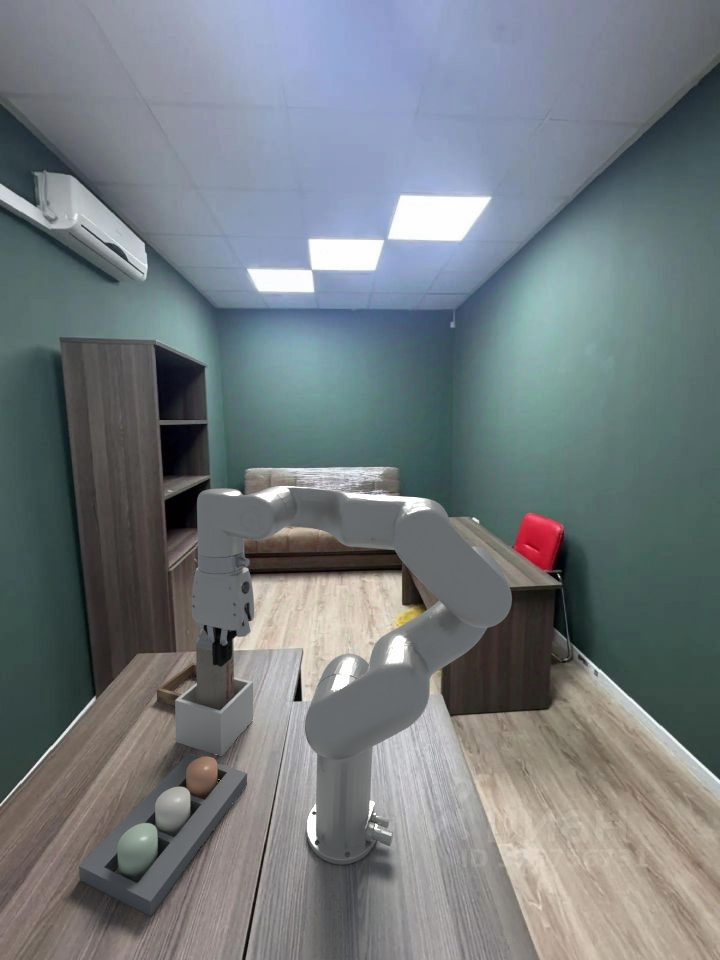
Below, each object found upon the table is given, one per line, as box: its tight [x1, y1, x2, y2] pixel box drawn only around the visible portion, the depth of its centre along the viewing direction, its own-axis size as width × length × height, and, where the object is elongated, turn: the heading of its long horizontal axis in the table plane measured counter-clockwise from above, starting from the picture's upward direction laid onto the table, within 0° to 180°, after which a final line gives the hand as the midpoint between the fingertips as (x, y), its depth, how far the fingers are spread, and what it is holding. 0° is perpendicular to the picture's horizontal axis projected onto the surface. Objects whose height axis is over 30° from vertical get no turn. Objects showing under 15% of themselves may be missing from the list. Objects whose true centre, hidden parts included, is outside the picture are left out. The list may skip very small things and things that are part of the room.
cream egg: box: [155, 787, 192, 837], centre depth 74 cm, size 6×6×4 cm
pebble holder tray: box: [78, 753, 248, 917], centre depth 74 cm, size 14×24×2 cm, turn 161°
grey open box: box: [174, 676, 254, 757], centre depth 97 cm, size 12×12×10 cm
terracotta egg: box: [186, 756, 219, 800], centre depth 81 cm, size 6×6×4 cm
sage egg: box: [117, 823, 159, 883], centre depth 67 cm, size 6×6×4 cm
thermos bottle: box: [195, 628, 235, 710], centre depth 95 cm, size 8×8×28 cm
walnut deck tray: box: [156, 662, 197, 707], centre depth 111 cm, size 13×13×3 cm
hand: (222, 661), depth 74 cm, fingers closed
